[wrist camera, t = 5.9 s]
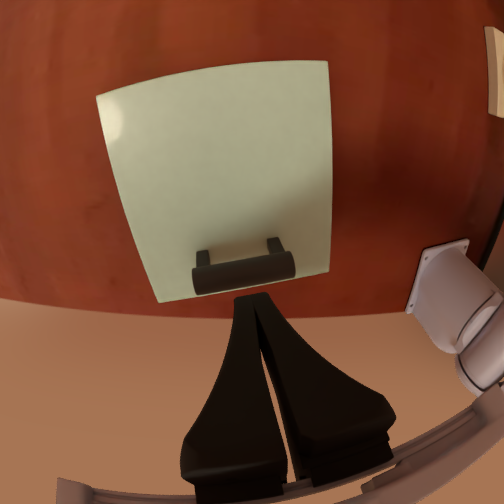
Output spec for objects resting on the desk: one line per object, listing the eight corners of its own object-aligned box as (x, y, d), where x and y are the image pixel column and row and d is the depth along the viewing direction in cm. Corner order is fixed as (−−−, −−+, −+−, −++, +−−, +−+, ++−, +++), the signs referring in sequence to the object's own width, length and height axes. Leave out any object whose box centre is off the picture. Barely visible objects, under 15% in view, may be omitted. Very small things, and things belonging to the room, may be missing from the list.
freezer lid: (325, 265, 19) (347, 302, 16) (159, 296, 18) (154, 338, 15) (322, 61, 12) (357, 57, 9) (100, 95, 11) (69, 100, 8)
